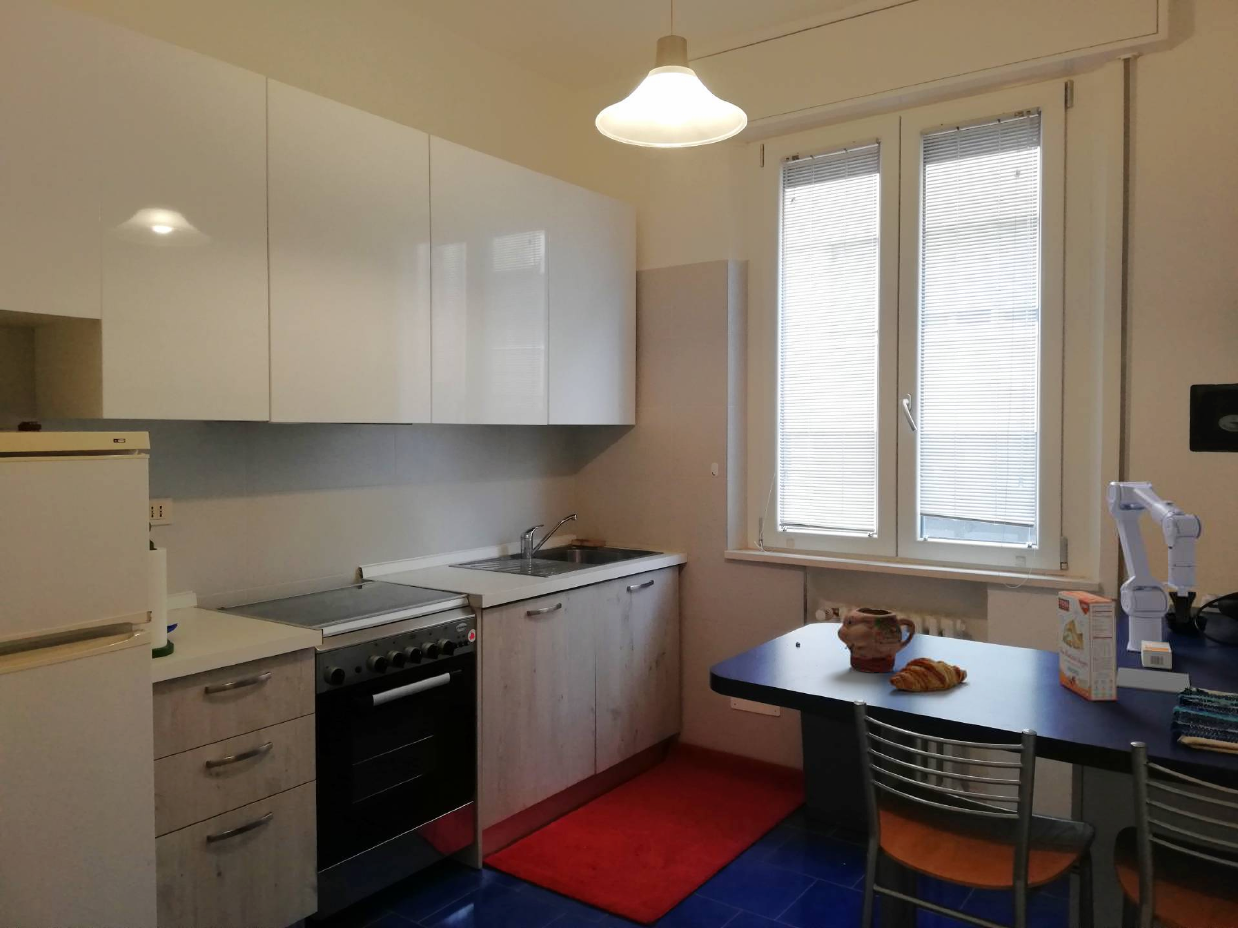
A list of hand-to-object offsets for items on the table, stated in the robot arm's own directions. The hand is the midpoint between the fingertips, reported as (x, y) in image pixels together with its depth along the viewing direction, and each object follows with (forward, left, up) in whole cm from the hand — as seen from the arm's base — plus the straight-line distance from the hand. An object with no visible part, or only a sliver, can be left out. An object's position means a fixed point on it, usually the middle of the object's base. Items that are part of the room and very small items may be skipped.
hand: (1182, 622), depth 217 cm
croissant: (+48, -48, -11) cm, 69 cm away
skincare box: (+6, -5, -8) cm, 11 cm away
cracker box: (+37, -18, -11) cm, 42 cm away
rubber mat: (+20, -6, -10) cm, 23 cm away
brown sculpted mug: (+36, -63, -11) cm, 73 cm away
